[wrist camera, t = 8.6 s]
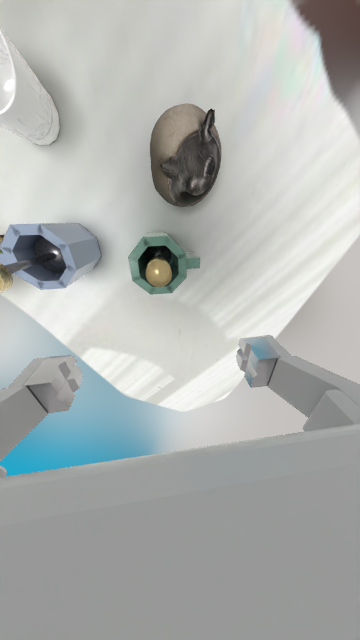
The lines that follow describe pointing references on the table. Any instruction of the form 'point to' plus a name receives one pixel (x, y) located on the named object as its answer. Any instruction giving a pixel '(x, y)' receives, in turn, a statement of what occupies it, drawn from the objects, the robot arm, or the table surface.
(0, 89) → the white cup
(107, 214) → the table surface
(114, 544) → the robot arm
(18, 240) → the blue pot
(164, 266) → the shiny brass cylinder
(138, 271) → the green mug
